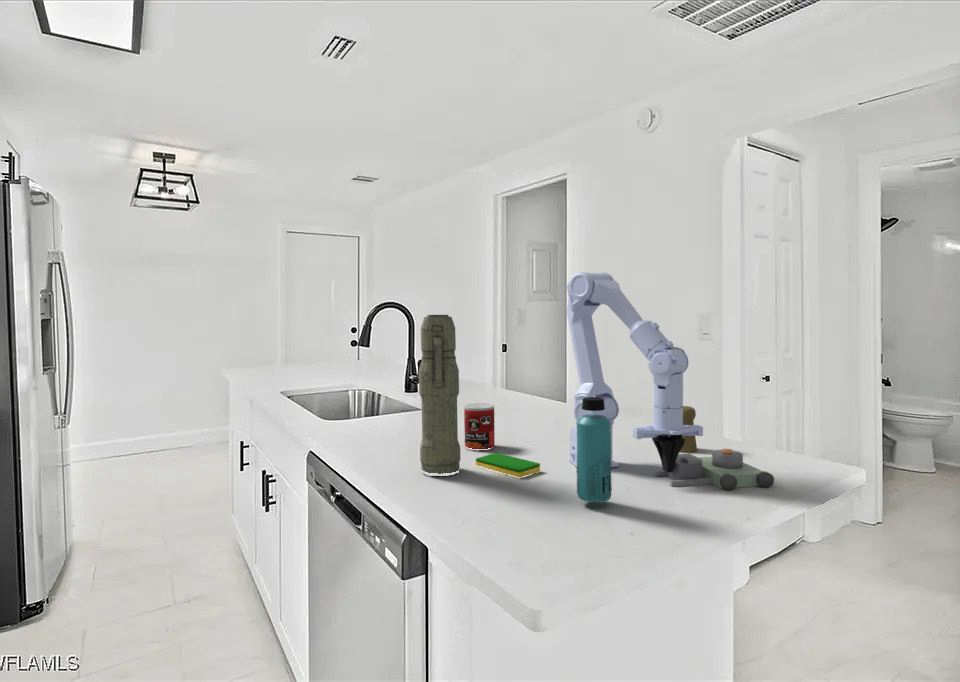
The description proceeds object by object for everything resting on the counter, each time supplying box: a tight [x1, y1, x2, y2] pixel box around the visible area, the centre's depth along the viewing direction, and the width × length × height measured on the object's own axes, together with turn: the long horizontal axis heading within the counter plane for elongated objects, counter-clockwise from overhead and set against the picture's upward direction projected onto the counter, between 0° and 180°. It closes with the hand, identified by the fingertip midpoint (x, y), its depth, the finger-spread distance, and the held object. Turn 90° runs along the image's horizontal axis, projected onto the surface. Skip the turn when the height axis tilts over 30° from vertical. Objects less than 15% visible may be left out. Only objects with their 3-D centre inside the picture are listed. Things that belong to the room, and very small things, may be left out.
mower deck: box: [654, 448, 775, 491], centre depth 125 cm, size 20×17×6 cm
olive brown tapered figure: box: [679, 405, 698, 454], centre depth 149 cm, size 6×6×11 cm
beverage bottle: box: [575, 396, 613, 503], centre depth 109 cm, size 6×7×20 cm
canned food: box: [463, 402, 496, 449], centre depth 154 cm, size 8×8×11 cm
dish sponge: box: [475, 452, 541, 477], centre depth 134 cm, size 7×14×2 cm, turn 44°
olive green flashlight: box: [418, 314, 461, 474], centre depth 132 cm, size 9×12×35 cm
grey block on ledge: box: [667, 453, 702, 480], centre depth 124 cm, size 5×5×5 cm
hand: (667, 471), depth 124 cm, fingers closed
